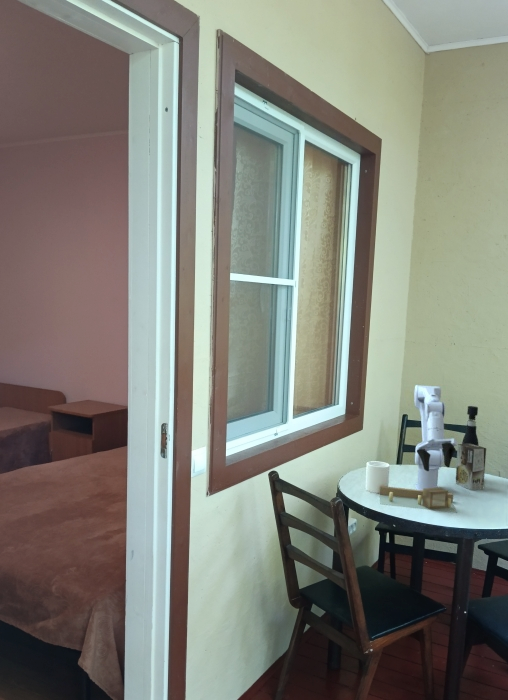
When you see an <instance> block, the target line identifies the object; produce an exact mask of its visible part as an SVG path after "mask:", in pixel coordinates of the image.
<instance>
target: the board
mask: <svg viewBox="0 0 508 700" xmlns="http://www.w3.org/2000/svg"><path fill="white" fill-rule="evenodd" d="M453 500H454V494H453V493H450V492H448V500H447V508H443V509H430V510H429V509H428V508H426V507H424V506H422V502H423V490H416V489H412V488H406V487H405V488H402V487H395V486H394V487H393V486H388V487H386V486H380V493H379V505H385V506H393V507H401V508H409V509H410V508H411V509H418V510H419V509H420V510H428V511H439V512H448V513H456V514H457V510H456V509H457V508H456V507H455V504H454V501H453Z"/></svg>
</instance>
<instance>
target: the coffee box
mask: <svg viewBox="0 0 508 700" xmlns="http://www.w3.org/2000/svg"><path fill="white" fill-rule="evenodd" d="M486 455H487V448H486V447H483V446H482V445H481V446H480V445H479V446H477V445H474V444H470V443H466V444H462V443H457V453H456V466H455V467H456V470H455V485H458V486H460V487H463V488H465V489H469V490H471V491H474V490H484V486H485V471H486V457H487V456H486Z"/></svg>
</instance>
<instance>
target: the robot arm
mask: <svg viewBox="0 0 508 700" xmlns="http://www.w3.org/2000/svg"><path fill="white" fill-rule="evenodd" d="M413 395H414V397H413V398H414V406H415V408H416V409H417V410H419V414H420V418H421V420H420V421H421V424H420V425H421V437H422V438H421V440H422V441H421V442H419V443H417V444H416V446H415V450H414V451H415V452H414V453H415V454H414V463H415V465H416V466H417V467H418V469H417V482H416V483H415V484H414V487H415V490H423V488H437V487H438V482H439V481H438V478H439V470H440V469H441V468H442V467H443V466H445V467H446V468H450V466H451V461H452V458H453V456H454V454H455V453H456V447H458V441H457V439H456V438H454V437H453V438H445V424H444V417H445V412H446V406H445V402H444V401H442V402H441V397H442V389H441V387H440V386H439V385H438V386H434V385H419V384H416V385H415V386H414V394H413Z"/></svg>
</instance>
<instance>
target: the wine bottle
mask: <svg viewBox="0 0 508 700" xmlns="http://www.w3.org/2000/svg"><path fill="white" fill-rule="evenodd" d="M478 412H479V408H478V406H473V405H469V406H467V413H466V414H467V415H468V421H467V425H466V428H465V429H466V431H465V434H464V435H463V439H462V441H461V444H466V443H470V444H474V445H477V446H480V445H479V439H478V435H477V421H476V416H478Z"/></svg>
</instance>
